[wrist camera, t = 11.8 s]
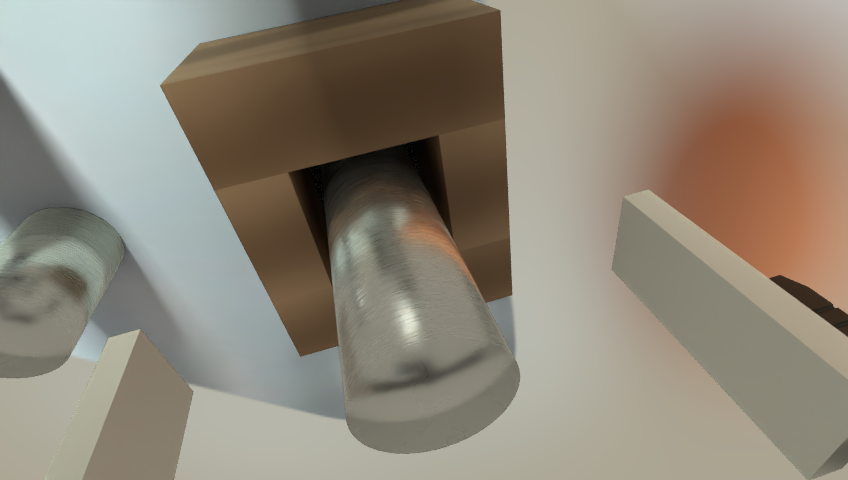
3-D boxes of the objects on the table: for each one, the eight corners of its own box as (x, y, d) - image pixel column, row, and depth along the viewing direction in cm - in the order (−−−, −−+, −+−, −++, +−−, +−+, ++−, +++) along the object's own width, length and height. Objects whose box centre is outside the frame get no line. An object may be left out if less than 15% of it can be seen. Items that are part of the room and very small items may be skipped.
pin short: (-4, 220, 19) (-109, 317, 14) (92, 197, 19) (23, 284, 14) (57, 287, 21) (-15, 390, 16) (141, 265, 21) (96, 360, 17)
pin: (307, 124, 19) (322, 374, 8) (393, 104, 20) (518, 315, 9) (332, 199, 22) (369, 471, 11) (408, 179, 22) (521, 422, 11)
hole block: (199, 43, 17) (160, 85, 12) (445, -9, 18) (500, 10, 13) (300, 272, 24) (300, 356, 19) (471, 226, 25) (512, 295, 20)
